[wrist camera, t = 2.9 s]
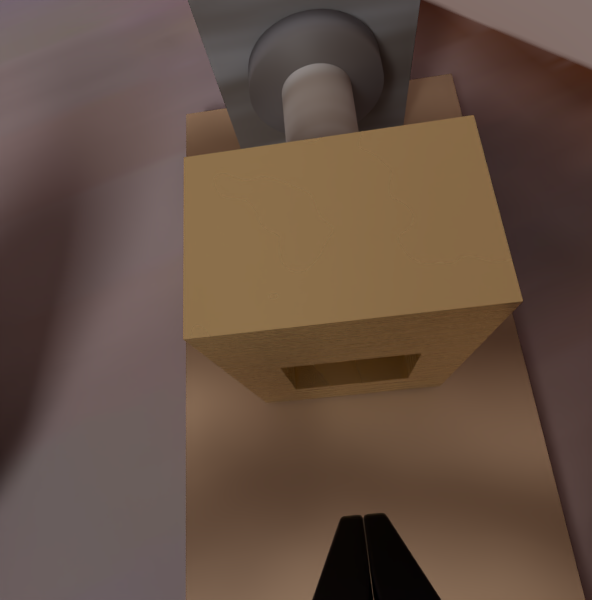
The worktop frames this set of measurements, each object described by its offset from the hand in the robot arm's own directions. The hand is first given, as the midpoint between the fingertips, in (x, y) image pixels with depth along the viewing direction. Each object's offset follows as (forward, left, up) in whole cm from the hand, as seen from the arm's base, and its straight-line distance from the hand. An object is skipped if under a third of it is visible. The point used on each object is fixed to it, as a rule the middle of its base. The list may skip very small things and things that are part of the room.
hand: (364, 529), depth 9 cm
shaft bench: (+6, 0, -8) cm, 10 cm away
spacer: (+5, 0, -7) cm, 9 cm away
